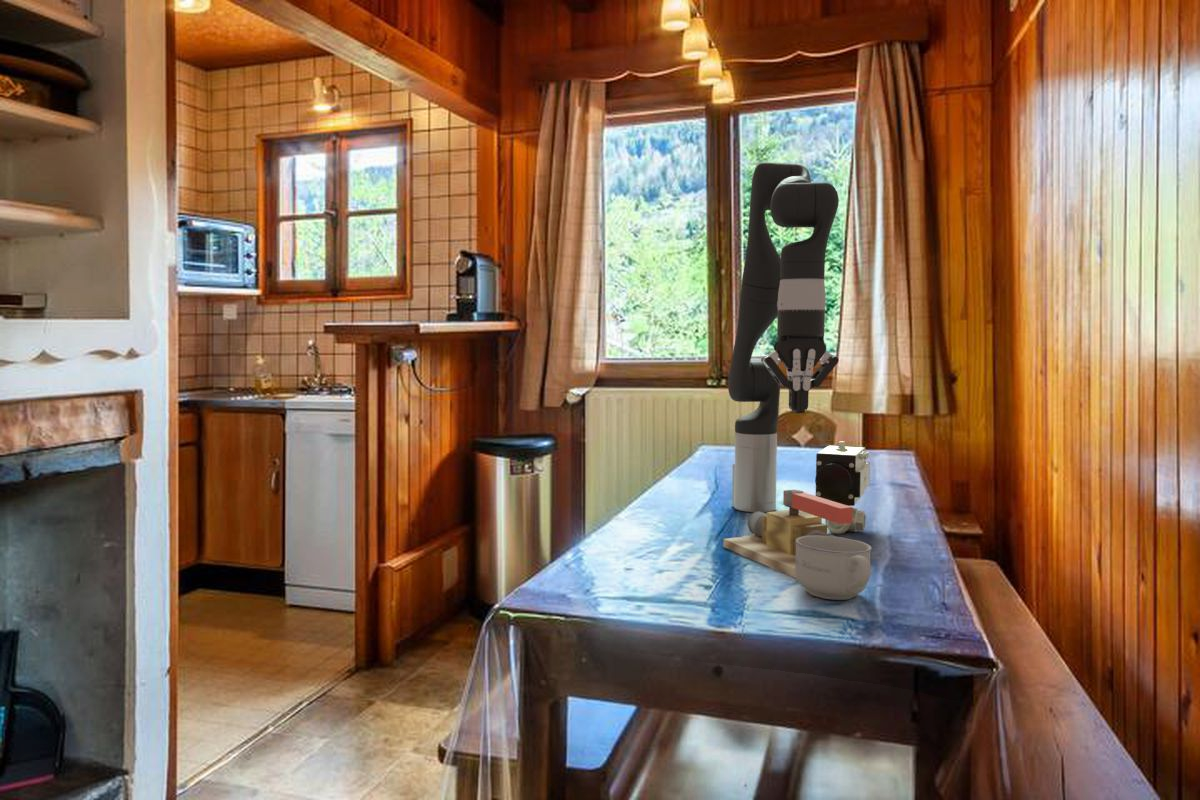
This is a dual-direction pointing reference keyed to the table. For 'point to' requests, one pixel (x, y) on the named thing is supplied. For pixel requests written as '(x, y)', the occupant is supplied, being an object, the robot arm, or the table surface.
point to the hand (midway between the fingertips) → (798, 412)
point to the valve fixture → (776, 537)
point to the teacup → (832, 566)
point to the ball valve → (843, 481)
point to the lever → (818, 506)
